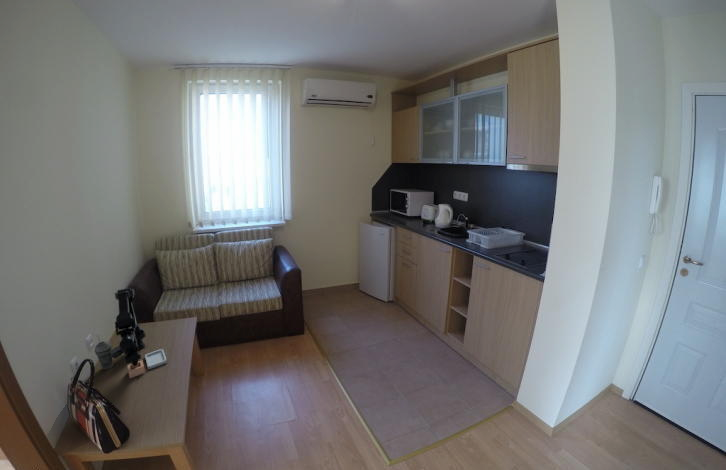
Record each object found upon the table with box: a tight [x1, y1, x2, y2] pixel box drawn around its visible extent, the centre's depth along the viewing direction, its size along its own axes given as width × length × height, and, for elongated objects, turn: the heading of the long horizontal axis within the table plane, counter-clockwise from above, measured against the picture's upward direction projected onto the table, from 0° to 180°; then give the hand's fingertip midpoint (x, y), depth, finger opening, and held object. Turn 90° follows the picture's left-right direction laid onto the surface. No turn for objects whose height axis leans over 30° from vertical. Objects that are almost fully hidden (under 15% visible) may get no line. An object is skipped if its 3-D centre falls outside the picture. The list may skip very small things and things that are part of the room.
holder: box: [127, 359, 146, 379], centre depth 169 cm, size 7×7×4 cm
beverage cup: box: [94, 334, 114, 370], centre depth 172 cm, size 7×7×20 cm
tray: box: [144, 348, 168, 370], centre depth 179 cm, size 14×9×2 cm, turn 40°
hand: (135, 364), depth 169 cm, fingers closed on dowel, 3 cm apart
